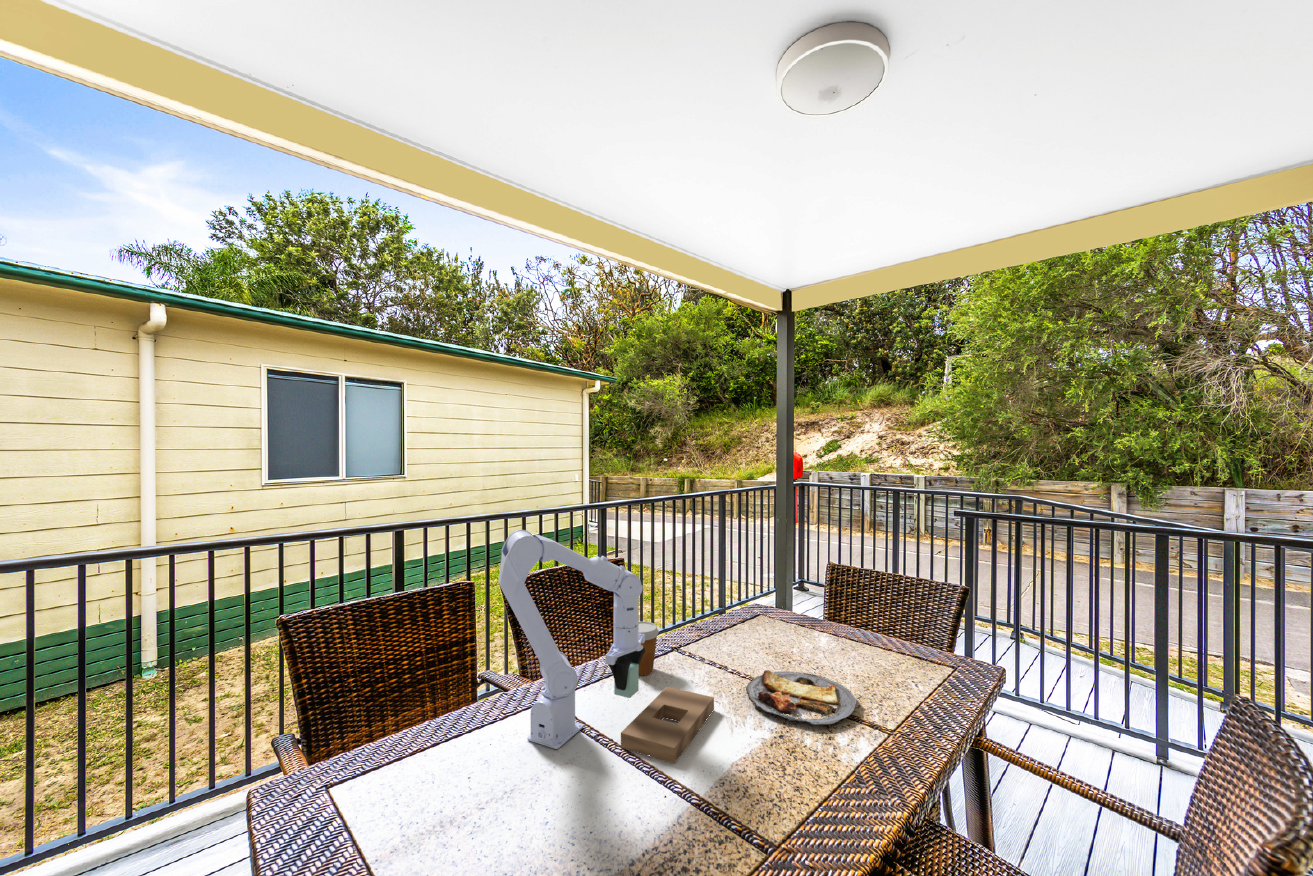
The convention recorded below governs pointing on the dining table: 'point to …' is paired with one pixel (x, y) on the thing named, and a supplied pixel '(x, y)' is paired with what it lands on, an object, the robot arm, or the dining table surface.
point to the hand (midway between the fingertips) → (626, 684)
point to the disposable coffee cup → (648, 647)
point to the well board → (667, 724)
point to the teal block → (629, 682)
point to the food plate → (800, 696)
